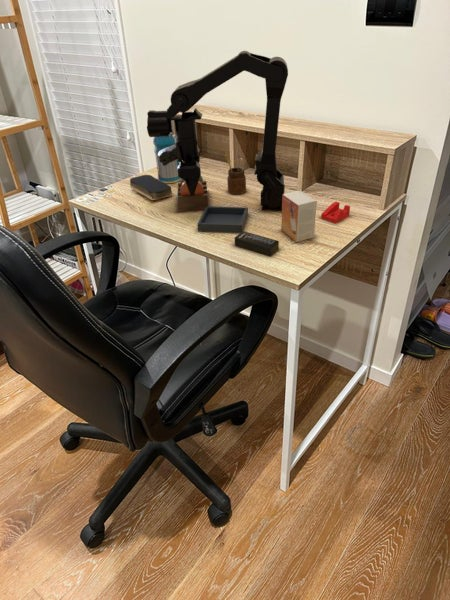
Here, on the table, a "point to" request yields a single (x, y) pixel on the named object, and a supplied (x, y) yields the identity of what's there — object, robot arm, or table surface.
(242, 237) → the multiport hub
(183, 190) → the terracotta disc
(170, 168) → the beverage bottle
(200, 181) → the sage disc
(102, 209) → the table surface
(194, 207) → the rack
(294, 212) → the small box
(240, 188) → the utensil holder
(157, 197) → the black sponge
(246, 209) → the tray
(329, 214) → the bracket
